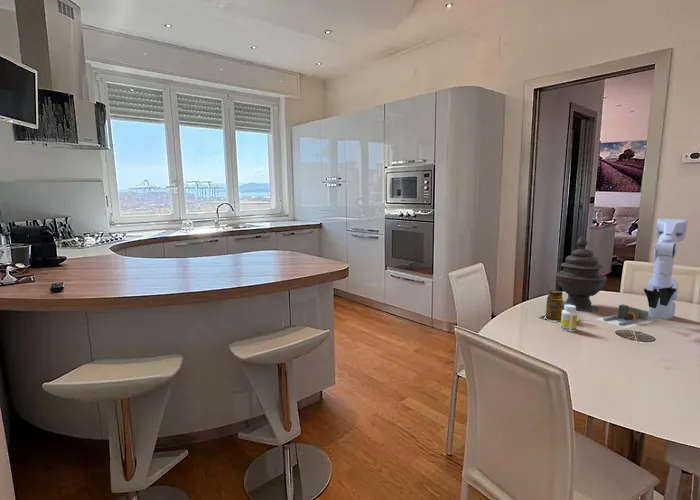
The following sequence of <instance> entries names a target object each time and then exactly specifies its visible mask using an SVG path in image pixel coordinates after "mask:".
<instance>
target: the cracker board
mask: <svg viewBox="0 0 700 500" xmlns="http://www.w3.org/2000/svg"><path fill="white" fill-rule="evenodd" d="M629 310H633V311H637V312H639V316H638V320H637V319H633V320H629V321H624V322H622V321H619V320H615V317H617V316H618V313H616V314H613V315H608V316H604V317H598V318H596V320H597V321H600V322H603V323H608V324H610V325H614V326H617V327H620V328H623V329H630V328H634V327H637V326H638V327H639V326H642V325H646V324H650V323H653V322H654V323H655V322H656V320H653V319H650V318H649V315H648V313H649V310H645V309H641V308H636V307H633V306H629Z"/></svg>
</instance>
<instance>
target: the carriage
mask: <svg viewBox="0 0 700 500" xmlns="http://www.w3.org/2000/svg"><path fill="white" fill-rule="evenodd" d="M629 307H630V306H629V305H627V304H619V305H618V313H617V314H618V316H617V317H615V320H619V321H622V322H624V321H629V320H633V319H635V314H632V313H628V311H629Z"/></svg>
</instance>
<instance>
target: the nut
mask: <svg viewBox="0 0 700 500" xmlns="http://www.w3.org/2000/svg"><path fill="white" fill-rule="evenodd" d="M628 313H632V314H635V319H637V320H638V316H639V312H637V311H633V310H629V311H628Z"/></svg>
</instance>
